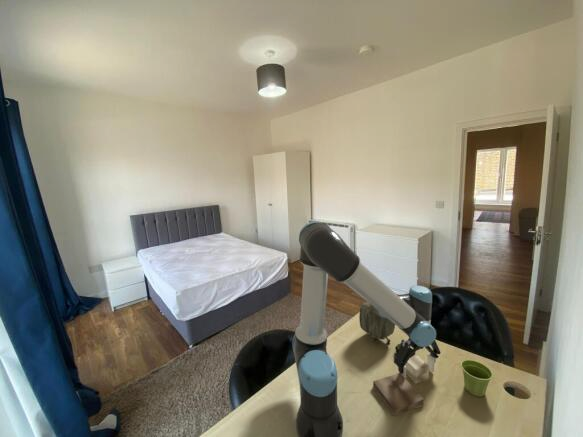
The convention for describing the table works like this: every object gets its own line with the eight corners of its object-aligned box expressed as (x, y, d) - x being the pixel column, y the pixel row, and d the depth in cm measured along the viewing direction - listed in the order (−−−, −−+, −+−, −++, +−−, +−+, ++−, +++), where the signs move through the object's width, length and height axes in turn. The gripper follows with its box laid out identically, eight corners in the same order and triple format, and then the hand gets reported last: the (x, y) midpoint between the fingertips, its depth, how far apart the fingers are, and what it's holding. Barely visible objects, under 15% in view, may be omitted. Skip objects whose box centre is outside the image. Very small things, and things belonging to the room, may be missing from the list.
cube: (415, 383, 95) (416, 370, 94) (404, 372, 101) (405, 359, 100) (428, 379, 97) (429, 366, 96) (416, 368, 103) (417, 355, 102)
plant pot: (463, 397, 89) (465, 376, 88) (456, 376, 98) (457, 357, 96) (495, 404, 86) (497, 382, 84) (484, 382, 95) (487, 362, 93)
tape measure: (415, 357, 109) (416, 349, 108) (405, 363, 106) (405, 355, 105) (402, 347, 115) (402, 340, 114) (391, 353, 112) (392, 345, 111)
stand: (394, 415, 84) (394, 409, 83) (373, 386, 95) (373, 381, 94) (423, 404, 87) (423, 398, 86) (399, 378, 98) (399, 372, 98)
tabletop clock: (394, 343, 118) (396, 294, 113) (382, 351, 113) (383, 300, 108) (369, 328, 130) (370, 283, 125) (357, 335, 125) (357, 288, 120)
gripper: (398, 340, 88) (396, 391, 92) (453, 324, 95) (449, 372, 99) (384, 327, 95) (383, 375, 99) (436, 314, 102) (434, 359, 106)
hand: (416, 374), depth 99 cm, fingers open, 13 cm apart
